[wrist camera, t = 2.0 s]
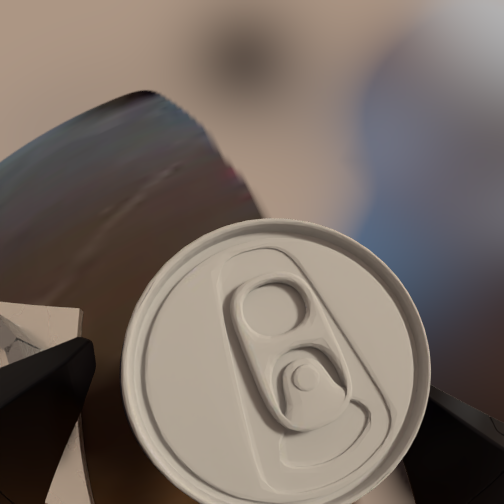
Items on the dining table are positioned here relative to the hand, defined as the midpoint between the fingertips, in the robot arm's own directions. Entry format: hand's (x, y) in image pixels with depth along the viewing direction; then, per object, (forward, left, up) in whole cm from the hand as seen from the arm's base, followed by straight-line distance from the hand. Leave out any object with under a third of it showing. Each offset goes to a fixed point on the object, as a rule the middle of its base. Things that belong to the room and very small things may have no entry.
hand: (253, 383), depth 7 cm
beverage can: (0, 0, -8) cm, 8 cm away
